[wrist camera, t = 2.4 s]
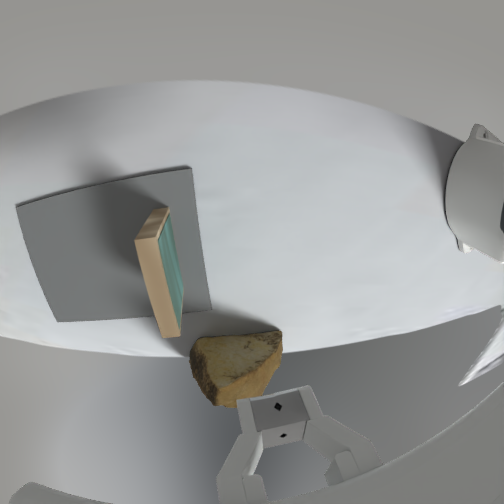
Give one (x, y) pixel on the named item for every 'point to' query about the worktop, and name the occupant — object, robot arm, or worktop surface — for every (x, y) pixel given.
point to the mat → (111, 246)
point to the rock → (235, 365)
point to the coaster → (161, 271)
